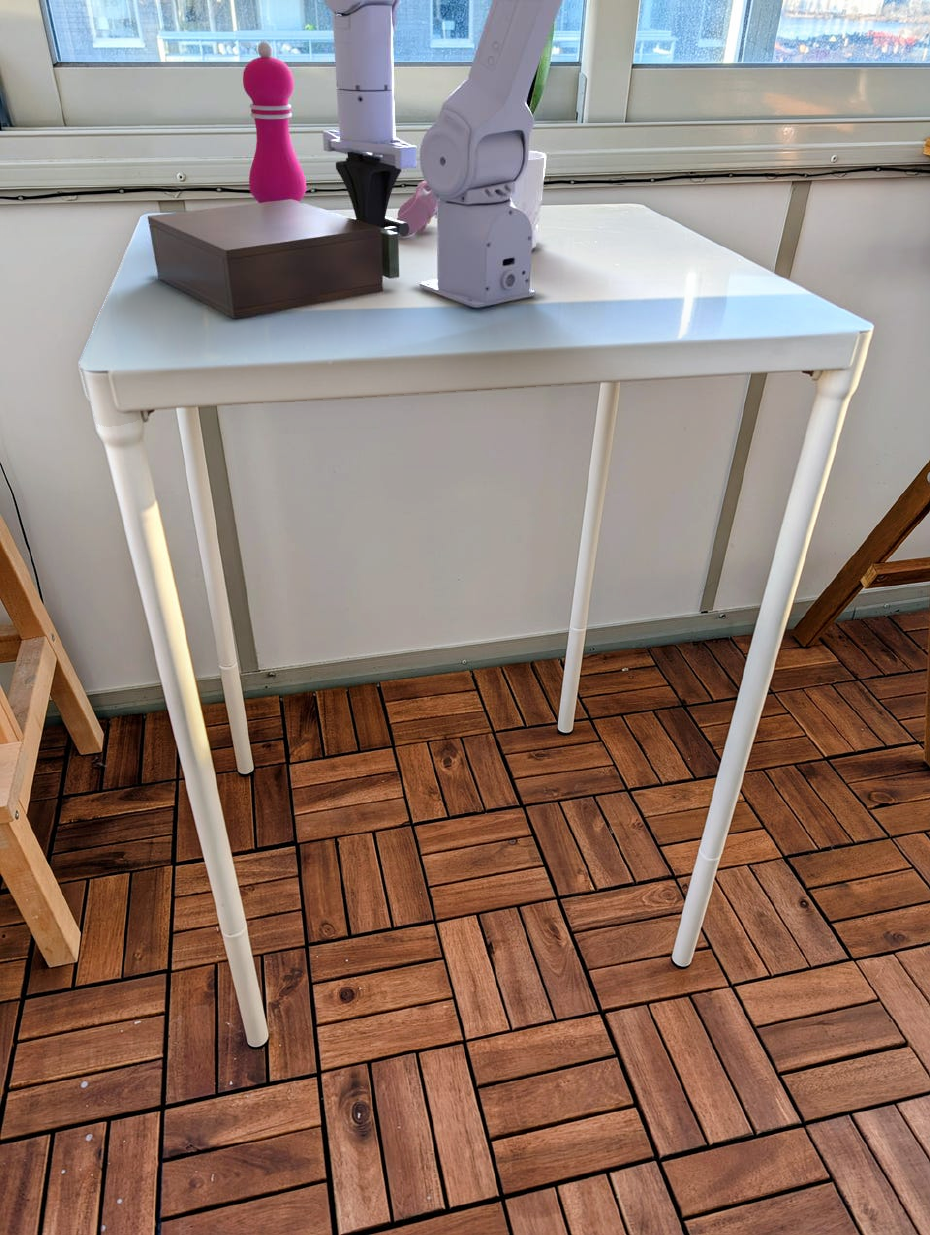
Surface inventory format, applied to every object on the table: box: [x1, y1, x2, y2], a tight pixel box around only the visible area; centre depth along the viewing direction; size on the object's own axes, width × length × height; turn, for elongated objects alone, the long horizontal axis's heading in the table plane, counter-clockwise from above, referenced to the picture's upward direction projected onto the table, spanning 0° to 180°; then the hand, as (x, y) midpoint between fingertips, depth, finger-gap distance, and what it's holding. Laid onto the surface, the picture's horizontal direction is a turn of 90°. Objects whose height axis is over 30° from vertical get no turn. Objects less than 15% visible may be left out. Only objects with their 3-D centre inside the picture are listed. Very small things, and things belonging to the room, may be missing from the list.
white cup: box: [511, 150, 547, 250], centre depth 106 cm, size 8×8×10 cm
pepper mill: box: [242, 41, 307, 203], centre depth 112 cm, size 7×7×20 cm
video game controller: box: [395, 180, 437, 239], centre depth 114 cm, size 10×5×7 cm, turn 179°
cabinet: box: [147, 199, 384, 320], centre depth 92 cm, size 17×18×6 cm
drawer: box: [335, 212, 409, 280], centre depth 94 cm, size 20×16×4 cm
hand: (371, 233), depth 98 cm, fingers closed
